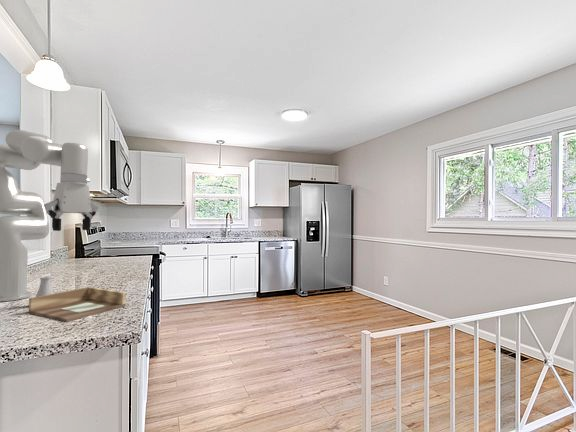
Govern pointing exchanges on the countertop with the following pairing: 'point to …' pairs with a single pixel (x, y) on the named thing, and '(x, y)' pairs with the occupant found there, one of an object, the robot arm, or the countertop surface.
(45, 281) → the flask
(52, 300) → the tray
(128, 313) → the countertop surface
